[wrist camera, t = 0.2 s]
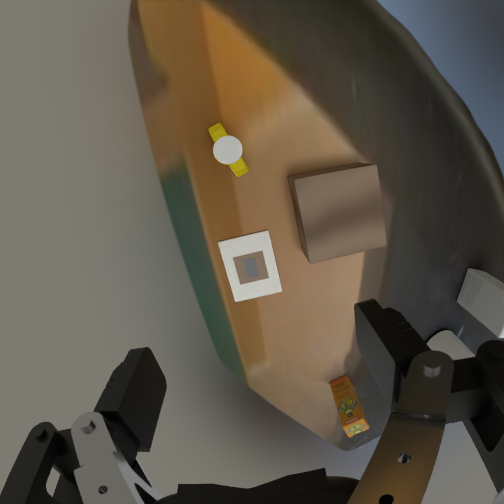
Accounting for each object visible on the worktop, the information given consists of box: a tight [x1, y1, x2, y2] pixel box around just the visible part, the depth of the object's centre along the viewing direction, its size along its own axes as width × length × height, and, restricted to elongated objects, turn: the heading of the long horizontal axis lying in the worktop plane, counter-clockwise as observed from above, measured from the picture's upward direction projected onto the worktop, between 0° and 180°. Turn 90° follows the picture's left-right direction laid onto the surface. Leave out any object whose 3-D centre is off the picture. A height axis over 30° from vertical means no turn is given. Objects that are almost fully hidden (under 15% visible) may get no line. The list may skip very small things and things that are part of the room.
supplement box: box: [330, 375, 369, 437], centre depth 38 cm, size 3×3×10 cm
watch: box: [208, 122, 249, 177], centre depth 29 cm, size 6×3×6 cm, turn 30°
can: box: [427, 330, 475, 360], centre depth 36 cm, size 7×7×12 cm
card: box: [218, 230, 282, 302], centre depth 36 cm, size 8×6×1 cm
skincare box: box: [457, 268, 504, 338], centre depth 33 cm, size 6×4×12 cm
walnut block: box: [288, 163, 386, 264], centre depth 32 cm, size 9×9×5 cm
